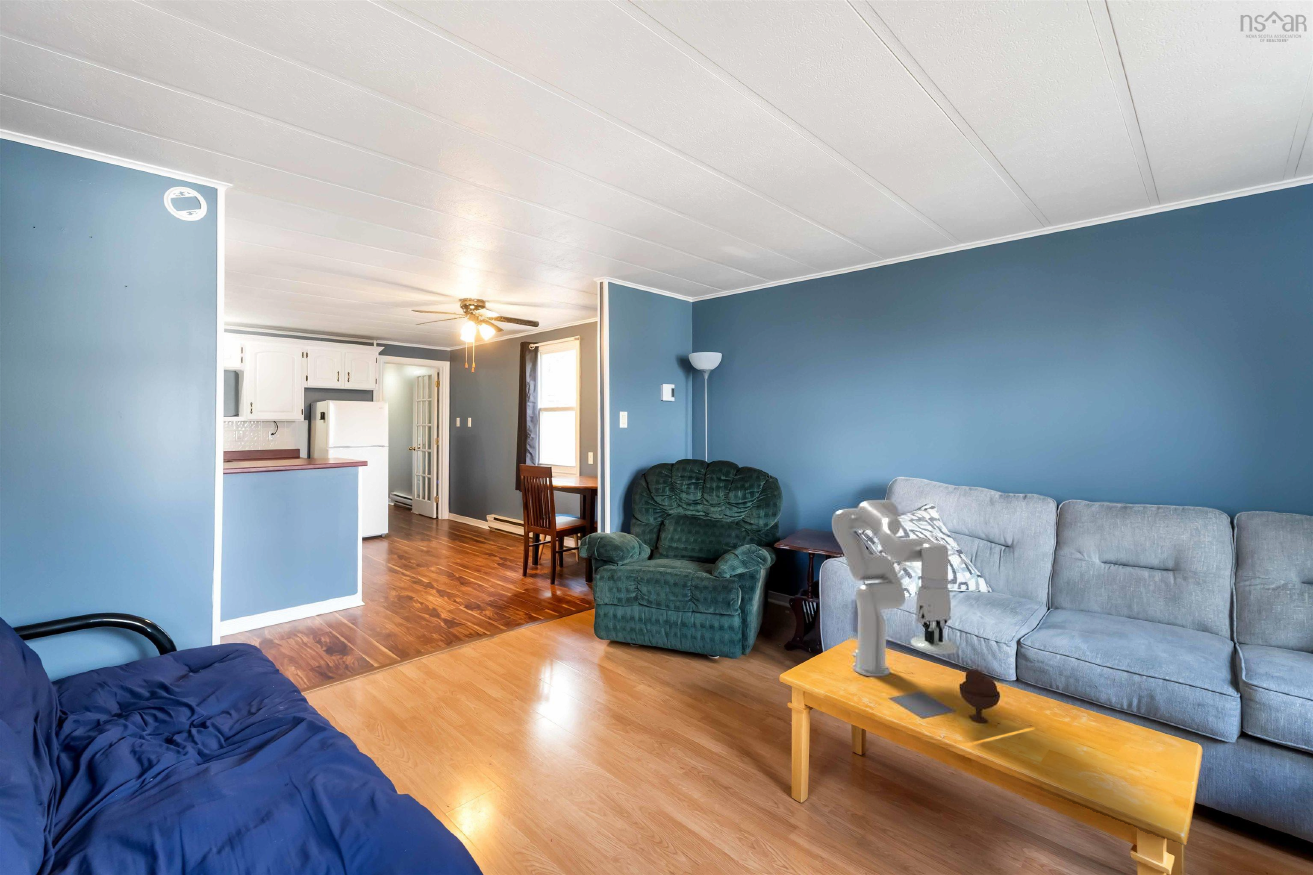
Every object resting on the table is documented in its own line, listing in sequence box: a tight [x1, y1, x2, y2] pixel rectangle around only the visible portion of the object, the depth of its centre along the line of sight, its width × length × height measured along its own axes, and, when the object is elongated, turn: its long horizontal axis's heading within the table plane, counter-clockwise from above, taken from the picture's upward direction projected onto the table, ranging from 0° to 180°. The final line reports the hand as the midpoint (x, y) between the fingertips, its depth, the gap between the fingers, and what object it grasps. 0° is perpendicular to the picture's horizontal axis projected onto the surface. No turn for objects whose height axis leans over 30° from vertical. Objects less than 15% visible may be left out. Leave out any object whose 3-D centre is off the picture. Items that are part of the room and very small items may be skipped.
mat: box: [887, 691, 957, 720], centre depth 182 cm, size 14×14×1 cm
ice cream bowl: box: [958, 668, 1001, 725], centre depth 174 cm, size 11×11×15 cm
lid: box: [910, 625, 958, 655], centre depth 180 cm, size 13×13×6 cm
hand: (933, 641), depth 180 cm, fingers closed on lid, 2 cm apart
